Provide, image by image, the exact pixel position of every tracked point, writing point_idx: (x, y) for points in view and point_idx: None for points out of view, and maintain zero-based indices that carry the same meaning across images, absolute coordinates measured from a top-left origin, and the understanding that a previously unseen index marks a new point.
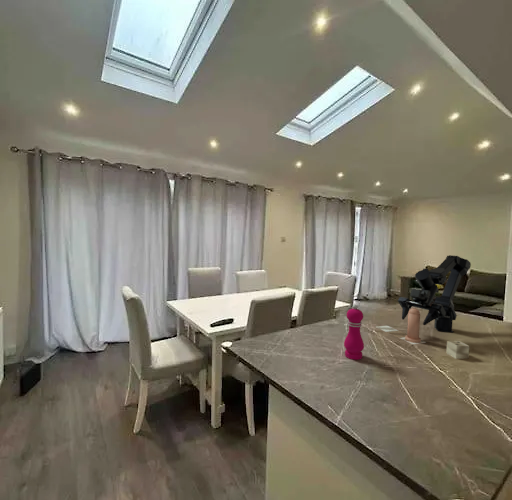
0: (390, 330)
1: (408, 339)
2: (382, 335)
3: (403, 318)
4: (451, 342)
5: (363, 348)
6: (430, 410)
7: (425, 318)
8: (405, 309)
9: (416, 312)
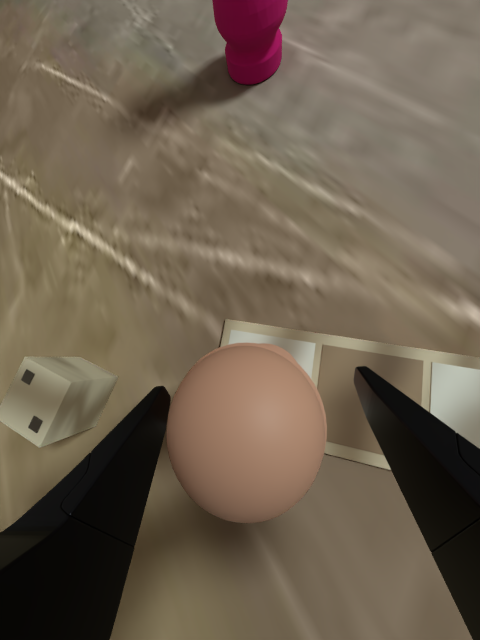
0: (444, 412)
1: (263, 344)
2: (391, 304)
3: (356, 380)
4: (53, 384)
5: (218, 30)
6: (25, 80)
7: (128, 430)
8: (456, 488)
9: (178, 388)
